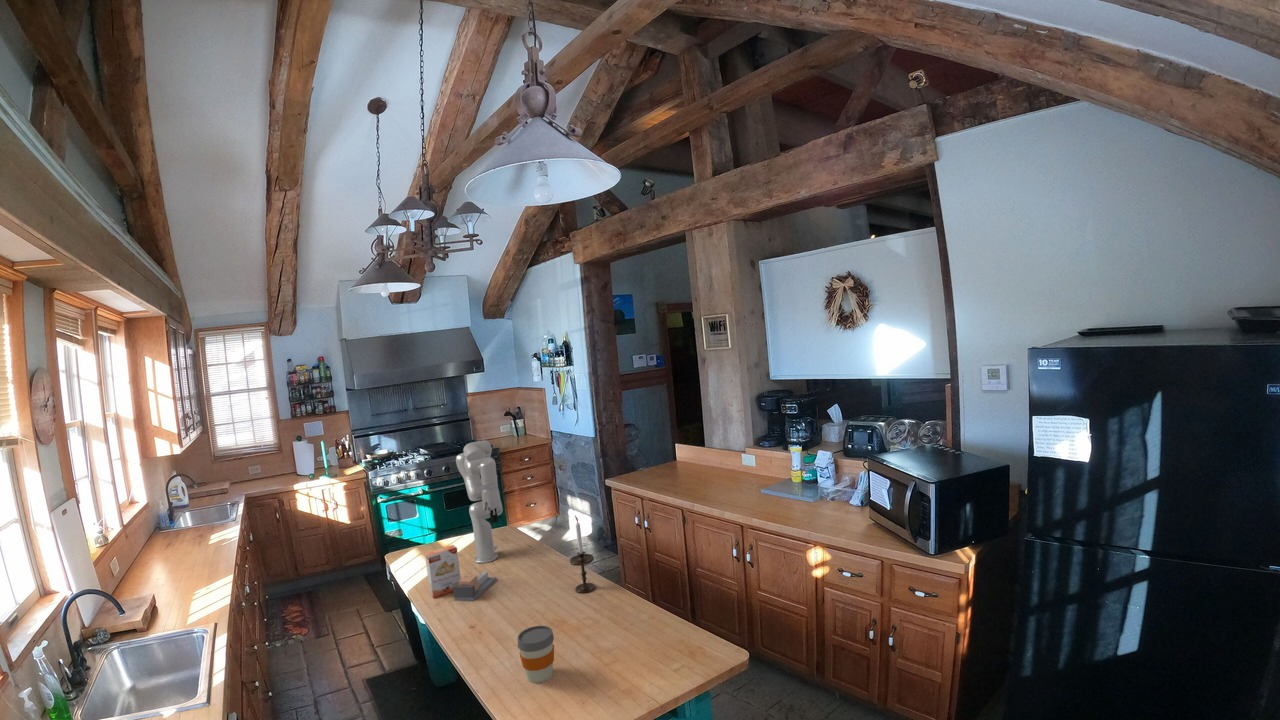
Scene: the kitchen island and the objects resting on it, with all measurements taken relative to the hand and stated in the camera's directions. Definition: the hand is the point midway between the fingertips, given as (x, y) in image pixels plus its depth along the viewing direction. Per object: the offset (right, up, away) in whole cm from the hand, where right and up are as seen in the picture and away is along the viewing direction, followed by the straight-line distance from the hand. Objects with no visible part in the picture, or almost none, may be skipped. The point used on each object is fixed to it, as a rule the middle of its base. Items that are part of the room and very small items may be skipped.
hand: (494, 521), depth 303 cm
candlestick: (+47, -25, -22) cm, 58 cm away
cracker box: (-21, -32, -8) cm, 39 cm away
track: (-6, -30, -10) cm, 32 cm away
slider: (-8, -29, -16) cm, 34 cm away
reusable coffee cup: (+37, -31, -89) cm, 101 cm away
